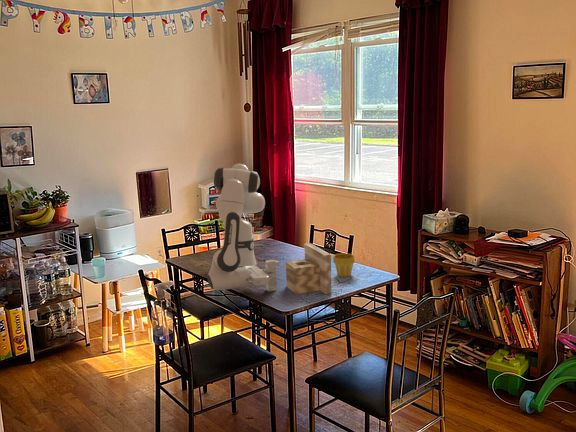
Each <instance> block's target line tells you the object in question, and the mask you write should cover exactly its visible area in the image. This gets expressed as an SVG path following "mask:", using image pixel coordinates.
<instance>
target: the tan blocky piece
mask: <svg viewBox="0 0 576 432" xmlns="http://www.w3.org/2000/svg"><path fill="white" fill-rule="evenodd" d="M303 245H304V259H299V260H298V259H297V260H292V261H290V260H289V261H285V274H286V275H285V277H286V278H285V279H286V280H285V281H286V287H287V288H288V289H289V290H290V291H291V292H292V293H294V294H295V295H299V294H306V293H312V292H318V291H320V292H322V293H323V294H324V295H329V294H332V293H333V292H332V291H333V290H332V287H333V286H332V254H330V253H329V252H327V251H325V250H323V249H322V248H320V247H318V246H316V245H314V244H313V243H311V242H309V243H304V244H303Z"/></svg>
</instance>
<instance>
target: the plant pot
mask: <svg viewBox="0 0 576 432" xmlns="http://www.w3.org/2000/svg"><path fill="white" fill-rule="evenodd" d="M333 264H334V265H335V269H336V270H335V271H336V275H337V276H338V277H341V278H344V277H345V278H346V277H351V275H352V271H353V267H354V264H355V255H354V254H352V253H344V252H343V253H337V254H335V255H333Z"/></svg>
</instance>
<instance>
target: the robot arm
mask: <svg viewBox="0 0 576 432" xmlns="http://www.w3.org/2000/svg"><path fill="white" fill-rule="evenodd" d="M212 182H213V186H214V188H215V189H217V190H218V191H219V192H220V195H219V196H218V197H217V199H216V201H215V208H216V210H217V211H218V216H219V219H220V220H221V221H222V223H223V226H224V233H223V245H222V248H221V249H220V250H216V251H215V252H214V254H213V256H212V259H211V260H212V261H211V266H210V269H209V272H208V273H207V275H206V276H207V277H206V279H207V283H208V285H209V287H210V288H211V289H212V290H213V291H225V290H231V289H234V288H237V289H240V288H248V287H250V285H252V286H257V287H258V286H266V285H267V284H269V279H271V278H275V277H276V278H277V275H276V276H275V274H274V273H271V274H269V275H268V274H266V271H265V268H264V269H263V268H260V267H258V266H257V264H258V263H257V259H256V257H255V251H254V248H255V247H254V246H255V245H254V238H253V237H254V236H253V225H252V223H251V222H249V221H248V220H245V219H244V218H242V216H243V215H245V214H246V215H248V214H255V213H259V212H262V211H263V210H264V208H265V206H266V200H265V197H264V195H262V193H259V192H257V191H258V189H259V188H260V185H261V179H260V174H258V172H257V171H254V170H249V168H248V167H247V166H246V164H244V163H243V164H242V163H236V164H234V165H232V166H231V167H230V168H229V167H228V168H225V167H219V168H217V169H216V170H215V171H214V174H213V176H212Z"/></svg>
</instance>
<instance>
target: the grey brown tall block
mask: <svg viewBox="0 0 576 432" xmlns="http://www.w3.org/2000/svg"><path fill="white" fill-rule="evenodd" d="M264 267H265V268H264V269H265V271H266V274H268V275H269V274H271V273H274V274H275V276H276V277H275V278H271V279H269V284H267V285H265V290H266V291H267V292H276V291H277V267H280V261H279V260H276V259H269V260H267V259H266V260H264Z"/></svg>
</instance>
